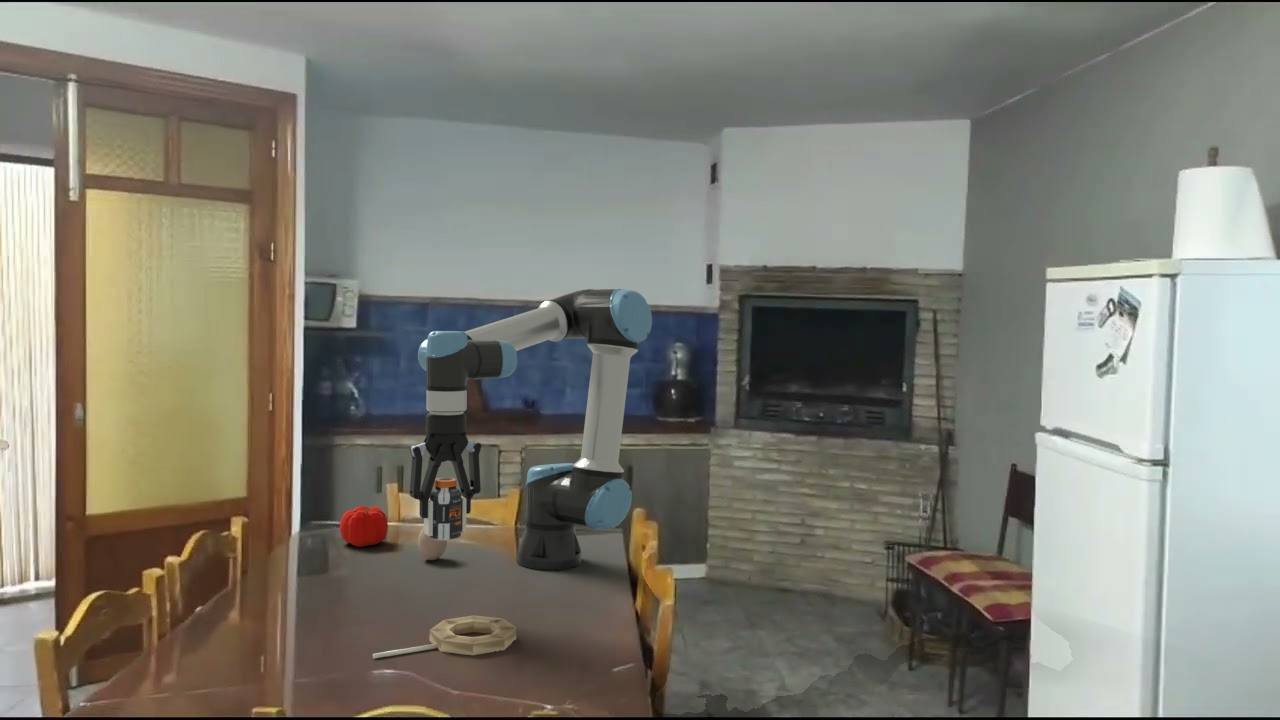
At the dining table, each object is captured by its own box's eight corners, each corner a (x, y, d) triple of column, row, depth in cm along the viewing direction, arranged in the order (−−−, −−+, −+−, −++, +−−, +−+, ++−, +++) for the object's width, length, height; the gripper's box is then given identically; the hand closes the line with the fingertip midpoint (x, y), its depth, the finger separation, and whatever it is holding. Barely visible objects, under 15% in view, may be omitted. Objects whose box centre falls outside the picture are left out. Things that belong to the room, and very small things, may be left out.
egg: (451, 561, 218) (452, 522, 218) (423, 565, 215) (424, 525, 214) (440, 555, 224) (440, 517, 223) (413, 558, 220) (414, 519, 220)
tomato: (350, 538, 238) (351, 502, 237) (395, 541, 236) (396, 505, 236) (330, 548, 227) (331, 510, 227) (378, 551, 225) (378, 514, 225)
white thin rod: (436, 647, 162) (436, 642, 162) (438, 648, 161) (438, 644, 161) (372, 657, 156) (372, 653, 156) (374, 659, 155) (374, 654, 155)
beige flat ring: (494, 622, 176) (494, 612, 176) (526, 646, 164) (526, 635, 164) (421, 634, 168) (421, 623, 168) (449, 659, 157) (449, 647, 156)
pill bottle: (453, 542, 176) (454, 482, 175) (424, 540, 177) (424, 480, 176) (465, 534, 182) (466, 476, 181) (437, 532, 183) (437, 475, 182)
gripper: (485, 408, 186) (483, 523, 188) (391, 412, 176) (390, 533, 178) (500, 412, 180) (499, 531, 181) (403, 416, 170) (402, 542, 171)
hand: (445, 532), depth 179 cm, fingers closed on pill bottle, 6 cm apart
